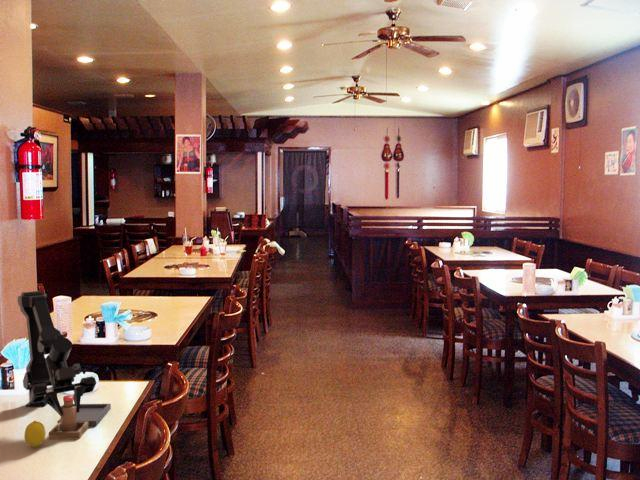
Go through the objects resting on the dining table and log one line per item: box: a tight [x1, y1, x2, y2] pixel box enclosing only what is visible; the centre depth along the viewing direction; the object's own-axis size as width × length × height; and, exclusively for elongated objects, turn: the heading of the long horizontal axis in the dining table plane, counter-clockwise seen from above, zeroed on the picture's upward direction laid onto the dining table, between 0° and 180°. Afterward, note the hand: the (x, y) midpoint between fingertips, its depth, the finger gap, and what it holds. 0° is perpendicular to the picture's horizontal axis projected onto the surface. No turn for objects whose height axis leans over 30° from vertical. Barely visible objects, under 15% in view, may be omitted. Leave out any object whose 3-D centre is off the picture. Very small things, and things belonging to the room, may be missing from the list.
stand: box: [48, 421, 90, 440], centre depth 192 cm, size 9×9×2 cm
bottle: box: [60, 394, 78, 432], centre depth 191 cm, size 5×5×12 cm
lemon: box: [24, 420, 46, 449], centre depth 181 cm, size 6×6×8 cm
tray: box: [57, 403, 112, 427], centre depth 205 cm, size 16×12×2 cm
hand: (70, 413), depth 190 cm, fingers closed on bottle, 5 cm apart
